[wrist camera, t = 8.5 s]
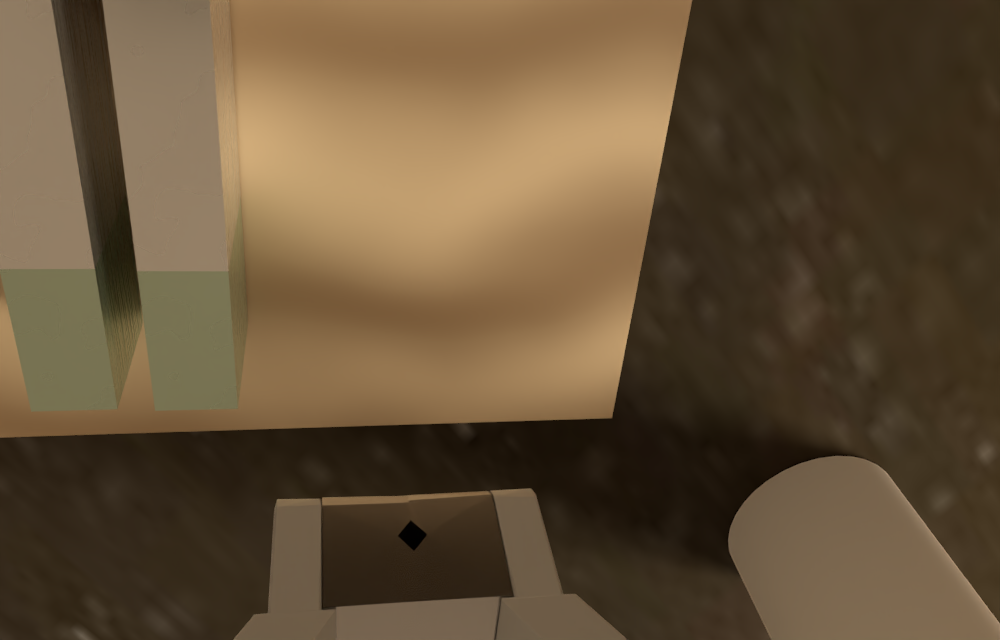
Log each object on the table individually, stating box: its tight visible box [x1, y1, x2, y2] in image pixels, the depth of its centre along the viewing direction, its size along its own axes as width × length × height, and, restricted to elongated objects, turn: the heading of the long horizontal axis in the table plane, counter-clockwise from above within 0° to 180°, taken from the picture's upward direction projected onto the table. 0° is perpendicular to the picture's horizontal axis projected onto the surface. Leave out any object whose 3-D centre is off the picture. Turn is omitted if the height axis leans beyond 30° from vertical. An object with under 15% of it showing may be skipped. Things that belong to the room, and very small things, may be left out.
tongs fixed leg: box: [0, 0, 143, 412], centre depth 21 cm, size 16×2×4 cm, turn 175°
